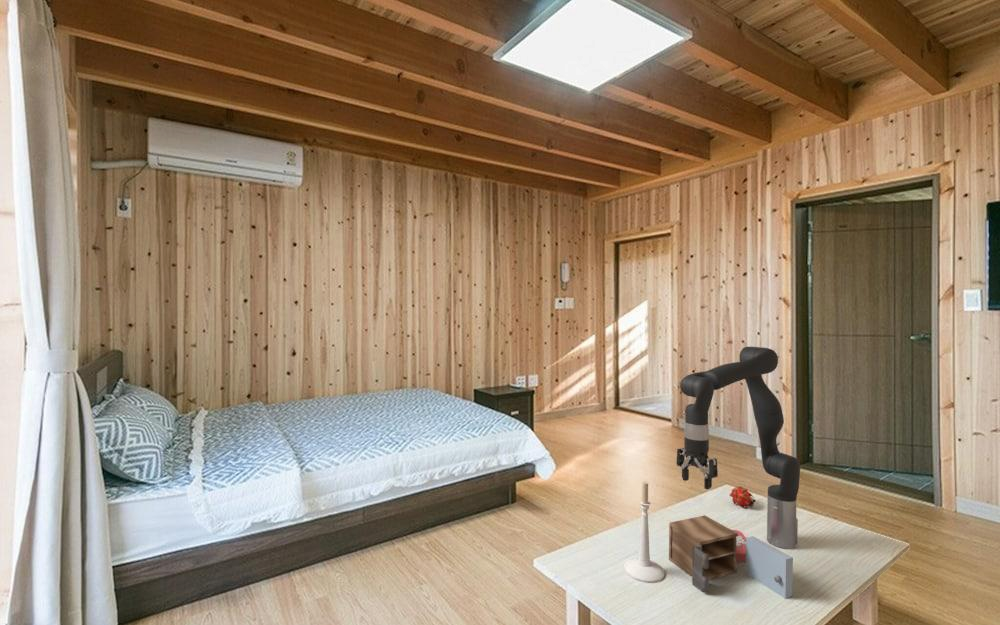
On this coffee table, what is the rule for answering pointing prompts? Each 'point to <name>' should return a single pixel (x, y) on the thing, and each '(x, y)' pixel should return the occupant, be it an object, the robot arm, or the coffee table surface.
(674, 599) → the coffee table surface
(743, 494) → the dragon fruit
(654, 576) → the candlestick
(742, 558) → the plaque
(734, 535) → the cabinet
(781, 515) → the robot arm
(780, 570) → the door
